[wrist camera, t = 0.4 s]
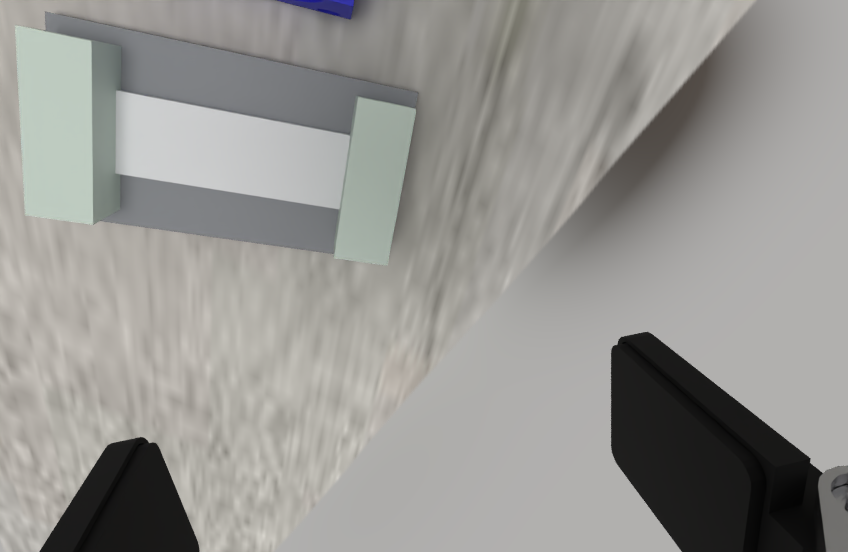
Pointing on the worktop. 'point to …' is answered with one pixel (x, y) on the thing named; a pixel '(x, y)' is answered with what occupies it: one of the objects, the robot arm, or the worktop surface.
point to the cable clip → (326, 6)
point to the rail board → (208, 141)
